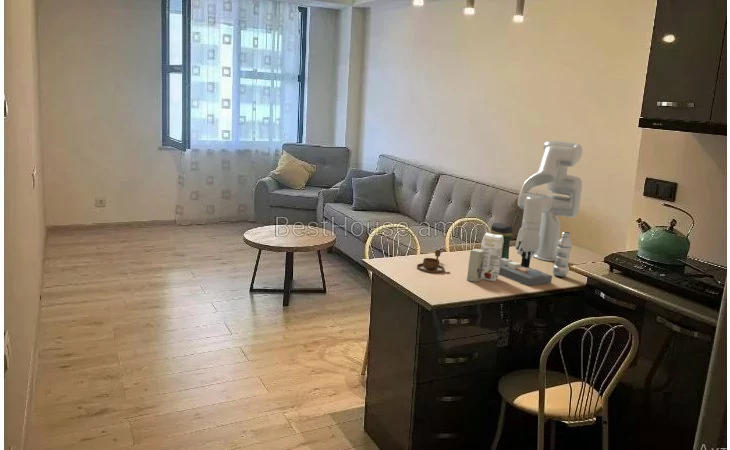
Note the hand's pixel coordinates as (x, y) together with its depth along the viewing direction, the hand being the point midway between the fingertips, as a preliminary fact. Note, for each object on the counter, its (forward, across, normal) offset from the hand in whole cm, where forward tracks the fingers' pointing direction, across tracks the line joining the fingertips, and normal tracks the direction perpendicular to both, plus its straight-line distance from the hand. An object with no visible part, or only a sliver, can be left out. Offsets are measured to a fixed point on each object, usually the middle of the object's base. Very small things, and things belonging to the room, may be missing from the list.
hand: (524, 266), depth 275 cm
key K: (+2, +1, -12) cm, 12 cm away
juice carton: (+5, +18, -4) cm, 19 cm away
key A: (+2, +1, -6) cm, 6 cm away
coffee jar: (+6, -6, -23) cm, 24 cm away
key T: (+3, +1, 0) cm, 3 cm away
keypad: (+5, +1, -3) cm, 6 cm away
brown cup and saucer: (+6, +30, -23) cm, 38 cm away
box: (+5, +26, -4) cm, 26 cm away
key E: (+2, +1, +6) cm, 7 cm away
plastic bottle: (+6, -19, +3) cm, 20 cm away
